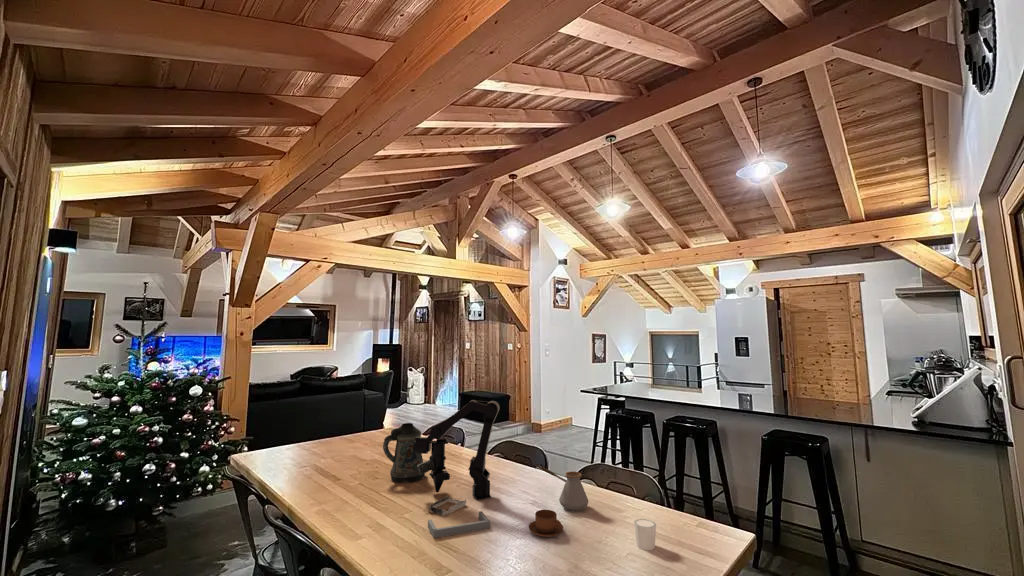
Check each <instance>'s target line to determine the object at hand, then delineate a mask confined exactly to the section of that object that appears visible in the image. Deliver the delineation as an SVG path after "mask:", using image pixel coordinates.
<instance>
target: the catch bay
mask: <svg viewBox="0 0 1024 576" xmlns="http://www.w3.org/2000/svg"><path fill="white" fill-rule="evenodd" d="M478 520H479V521H474V522H468V523H462V524H456V525H450V526H445V527H443V526H442V527H436V525H435V523H434V522H433V519H428V520H427V529H428V530H429V533H430V535H431V536H432V538H433V539H436V538H442V537H449V536H455V535H459V534H465V533H470V532H471V533H472V532H476V531H483V530H489V529H491V521H490V519H489V518H488V516H487V515H485V513H484V512H483V511H482V510H481V511H478Z"/></svg>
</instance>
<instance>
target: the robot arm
mask: <svg viewBox="0 0 1024 576" xmlns="http://www.w3.org/2000/svg"><path fill="white" fill-rule="evenodd" d="M500 407H501V405H500V404H499V402H498V401H495V400H490V401H485V400H484V401H483V400H475V399H472V400H470V401H468V402H467V404H466V405H464V406H463V407H462V408H460V409H458V410H457V411H456V412H455V413H454V414H453V415H450V416H449V417H448V418H446V419H443V420H442V421H440V422H437V423H436V424H435V425H433V426H432V427H431V428H430V433H429V435H428V436H423V437H422V436H421V437H416V438H415V442H414V446H413V452H414V453H415V454H422V455H423V454H426V455H428V454H429V452H430V453H431V455H430V456H429V458H428V460H424V461H423V463H421V464H419V465H417V467H418V470H419V473H420V474H421V475H423V474H427V473H428V472H430V473H428V474H429V476H430V477H431V478H432V480H433V485H434V489H435V492H436V493H439V492H440V490H441V488H442V486H443V483H444V481H449V480H451V479H450V478H451V474H450V473H449V472H448V471H447V470H446V468H447V467H446V466H445V463H446V462H445V461H446V460H447V458H446V453H445V452H446V445H448V444H449V443H451V441H450V439H448V438H447V436H445V435H446V434H447V432H448V431H450V429H451V428H452V427H453V426H454V425H455V424H456V423H458V422H459V421H461V420H462V419H463V418H465V417H467V415H469V414H470V413H471V412H473V411H475V412H478V413H481V414H483V427H482V430H481V434H480V439H479V442H478V447H477V451H476V455H475V456H472V458H471V459H470V463H469V467H468V469H467V470H468V471H469V472H468V473H469V476H470V477H471V478H472V480H473V484H472V493H471V494H472V496H473V497H474V499H475V500H477V501H479V500H483V499H491V498H492V496H491V481H490V480H489V479H490V475H491V473H490V472H489V471H488V470H487V468H486V462H487V461H486V454H487V449H488V447H489V442H490V438H491V434H492V429H493V425H494V422H495V420H496V418H497V415H498V414H499V411H500ZM443 436H445V437H444V438H443Z"/></svg>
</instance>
